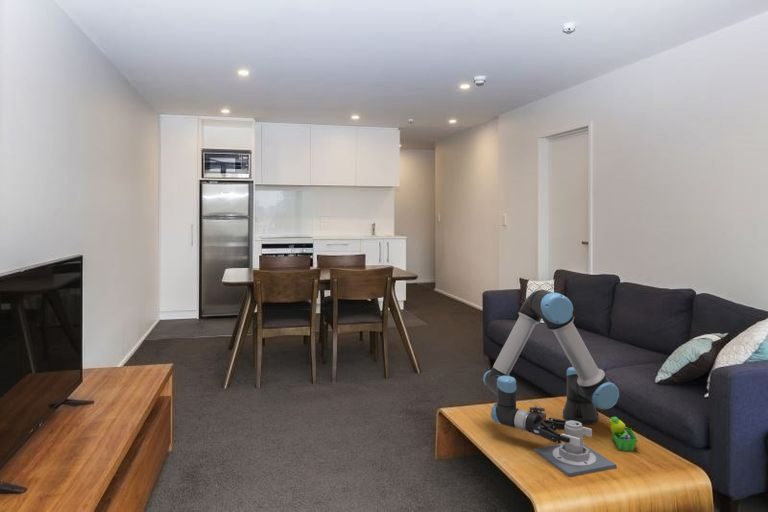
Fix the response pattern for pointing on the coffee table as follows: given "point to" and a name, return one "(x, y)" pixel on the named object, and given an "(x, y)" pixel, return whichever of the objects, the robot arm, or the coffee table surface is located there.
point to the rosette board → (575, 469)
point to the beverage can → (576, 431)
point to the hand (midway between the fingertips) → (585, 437)
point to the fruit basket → (622, 435)
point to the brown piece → (536, 410)
